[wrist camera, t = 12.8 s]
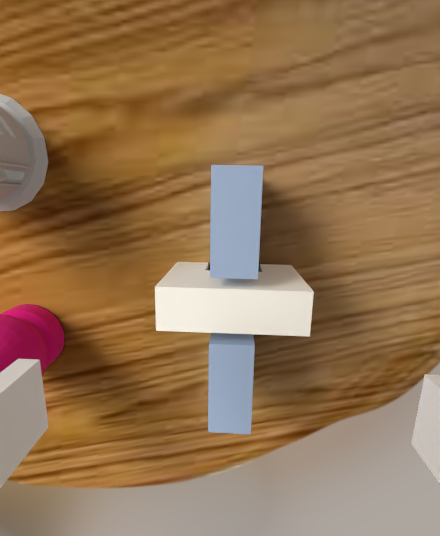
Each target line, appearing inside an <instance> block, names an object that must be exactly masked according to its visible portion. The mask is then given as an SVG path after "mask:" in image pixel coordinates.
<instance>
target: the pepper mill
mask: <svg viewBox="0 0 440 536" xmlns="http://www.w3.org/2000/svg"><path fill="white" fill-rule="evenodd" d="M64 341H65V336H64V331H63V328H62V326H61V324H60V322H59V321H58V319H57V318H56V317H55V316H54V315H53V314H52V313H51V312H49V311H48V310H46V309H44V308H42V307H39V306H36V305H29V304H26V305H19V306H16V307H14V308H12V309H10V310H8V311H6V312H4V313H2V314H0V372H2V371H3V370H4V369H6V368H7V367H8V366H10V365H11V364H12V363H13V362H15V361H16V360H17V359H38V360H40V366H41V373H42V376H43V374H44V371H45V368H46V367H47V366H48V365H50V364H51V363H52V362H53V361H54V360H55V359H56V358H57V357H58V356H59V355H60V354H61V352H62V350H63V347H64Z"/></svg>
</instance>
